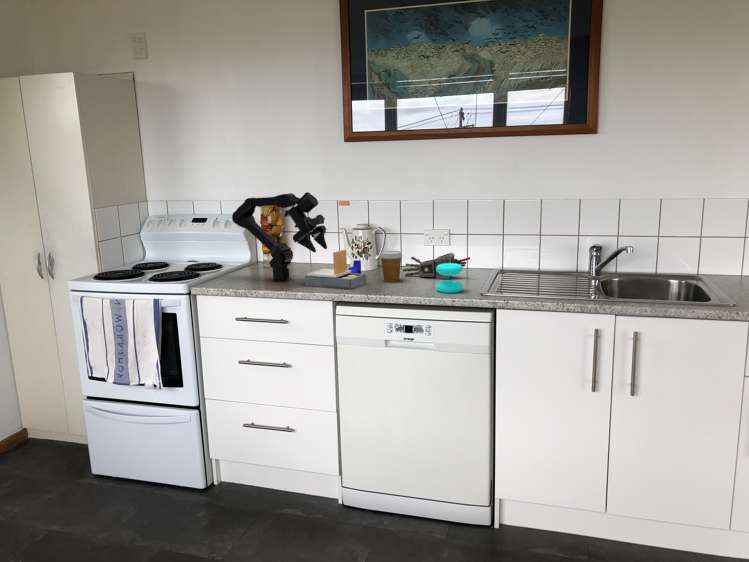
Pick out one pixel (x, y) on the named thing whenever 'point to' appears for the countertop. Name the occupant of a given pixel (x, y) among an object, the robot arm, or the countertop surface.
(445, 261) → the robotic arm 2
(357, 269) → the cable clip
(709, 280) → the countertop surface
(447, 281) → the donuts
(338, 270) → the lid
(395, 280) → the disposable coffee cup
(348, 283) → the frame
